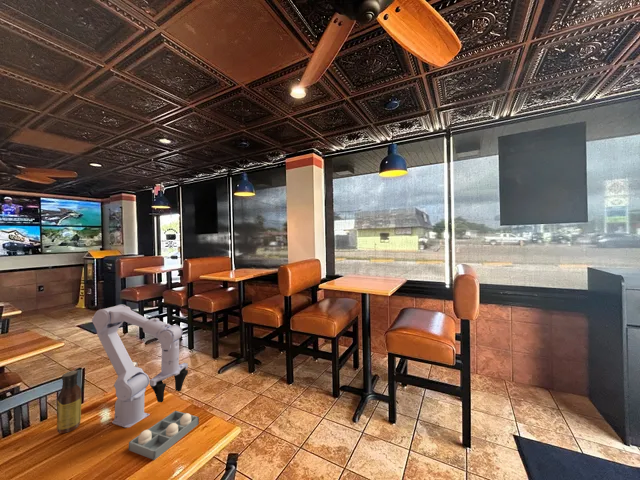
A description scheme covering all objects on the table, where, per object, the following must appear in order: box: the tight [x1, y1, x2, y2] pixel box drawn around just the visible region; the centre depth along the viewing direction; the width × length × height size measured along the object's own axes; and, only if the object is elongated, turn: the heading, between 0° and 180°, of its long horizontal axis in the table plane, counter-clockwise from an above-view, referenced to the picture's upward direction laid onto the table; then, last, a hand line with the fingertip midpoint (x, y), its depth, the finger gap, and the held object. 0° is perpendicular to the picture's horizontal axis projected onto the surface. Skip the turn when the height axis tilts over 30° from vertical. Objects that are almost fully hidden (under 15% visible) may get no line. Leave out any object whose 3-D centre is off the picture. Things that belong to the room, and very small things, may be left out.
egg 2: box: [166, 423, 178, 437], centre depth 86 cm, size 4×4×5 cm
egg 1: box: [138, 429, 152, 446], centre depth 83 cm, size 4×4×5 cm
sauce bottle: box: [56, 370, 82, 434], centre depth 92 cm, size 6×6×20 cm
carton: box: [128, 410, 200, 461], centre depth 87 cm, size 12×17×3 cm
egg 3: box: [180, 412, 192, 426], centre depth 91 cm, size 4×4×5 cm
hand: (169, 395), depth 95 cm, fingers open, 7 cm apart
